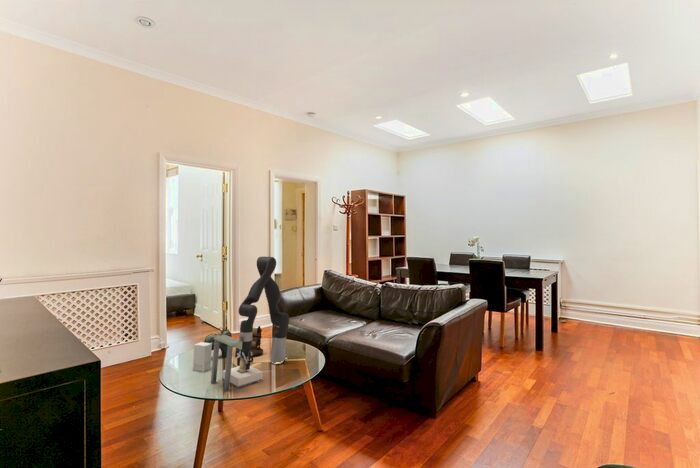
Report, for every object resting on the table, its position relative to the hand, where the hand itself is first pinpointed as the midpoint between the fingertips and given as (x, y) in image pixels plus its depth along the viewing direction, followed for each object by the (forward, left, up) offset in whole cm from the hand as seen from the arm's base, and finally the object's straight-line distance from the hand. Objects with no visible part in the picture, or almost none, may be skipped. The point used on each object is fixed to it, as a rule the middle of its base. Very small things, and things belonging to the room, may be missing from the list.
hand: (243, 367), depth 198 cm
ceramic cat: (-8, -42, -7) cm, 43 cm away
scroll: (-32, -35, -7) cm, 48 cm away
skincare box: (+9, -29, -7) cm, 31 cm away
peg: (0, 0, -6) cm, 6 cm away
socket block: (0, 0, -7) cm, 7 cm away
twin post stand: (+12, 0, -7) cm, 14 cm away
